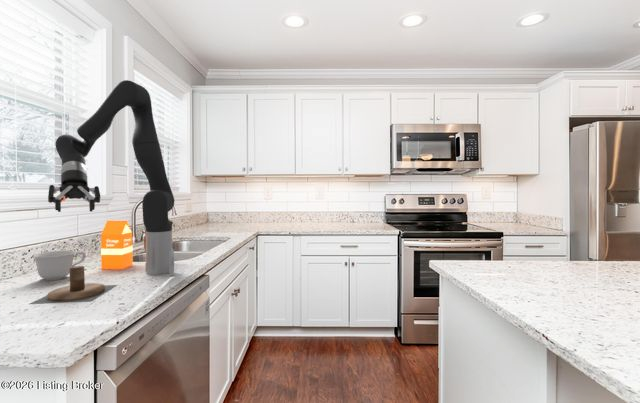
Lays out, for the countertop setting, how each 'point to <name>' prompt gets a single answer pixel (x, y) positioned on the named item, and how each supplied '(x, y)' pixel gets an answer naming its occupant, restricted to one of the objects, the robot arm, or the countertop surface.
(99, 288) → the walnut lid
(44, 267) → the teacup
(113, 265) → the orange juice
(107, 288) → the rubber mat
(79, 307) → the countertop surface
